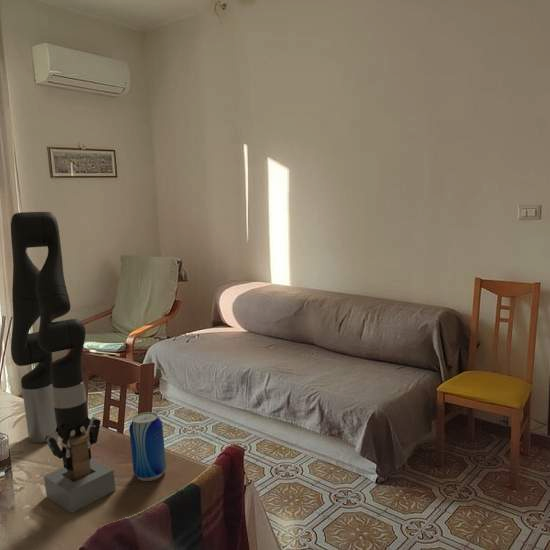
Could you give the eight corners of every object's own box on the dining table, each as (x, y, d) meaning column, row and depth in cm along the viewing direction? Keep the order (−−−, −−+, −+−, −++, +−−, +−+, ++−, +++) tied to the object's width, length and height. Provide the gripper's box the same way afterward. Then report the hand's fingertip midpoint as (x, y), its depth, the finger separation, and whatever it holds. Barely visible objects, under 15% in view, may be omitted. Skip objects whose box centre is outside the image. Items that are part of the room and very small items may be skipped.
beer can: (158, 483, 137) (153, 425, 134) (128, 481, 138) (122, 423, 136) (171, 466, 145) (166, 411, 142) (142, 464, 146) (137, 410, 144)
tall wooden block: (65, 478, 134) (59, 434, 132) (80, 471, 137) (74, 428, 135) (80, 487, 130) (74, 441, 128) (94, 480, 133) (89, 435, 131)
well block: (46, 496, 134) (43, 475, 133) (90, 475, 143) (87, 456, 142) (71, 513, 126) (68, 492, 125) (115, 490, 135) (113, 469, 134)
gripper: (88, 388, 138) (95, 450, 141) (34, 407, 127) (43, 473, 130) (104, 394, 133) (111, 458, 136) (49, 414, 122) (58, 483, 125)
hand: (78, 465), depth 133 cm, fingers closed on tall wooden block, 4 cm apart
